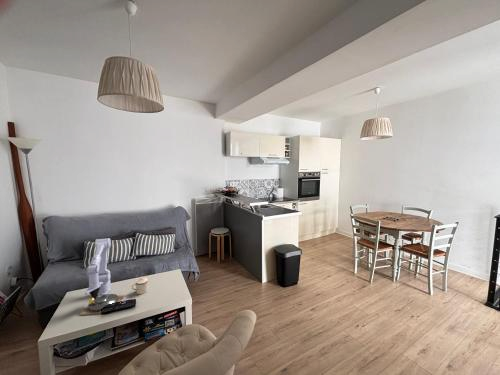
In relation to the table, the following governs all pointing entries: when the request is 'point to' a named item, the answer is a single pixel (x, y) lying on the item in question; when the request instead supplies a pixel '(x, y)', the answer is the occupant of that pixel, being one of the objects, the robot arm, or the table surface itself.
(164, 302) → the table surface
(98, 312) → the base plate
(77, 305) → the table surface
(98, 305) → the handwheel
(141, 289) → the teacup with lid
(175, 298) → the table surface
